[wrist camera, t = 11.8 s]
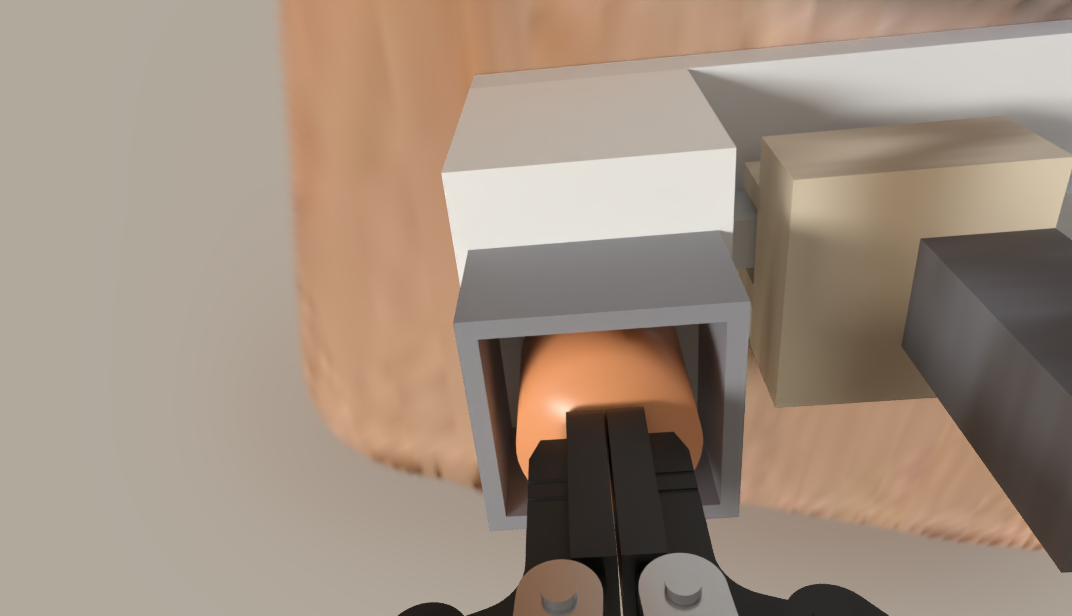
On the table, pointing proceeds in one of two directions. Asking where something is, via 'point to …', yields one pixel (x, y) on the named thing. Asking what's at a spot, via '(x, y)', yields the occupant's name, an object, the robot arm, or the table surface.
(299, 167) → the table surface
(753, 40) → the table surface
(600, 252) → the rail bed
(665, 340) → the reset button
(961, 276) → the carriage
